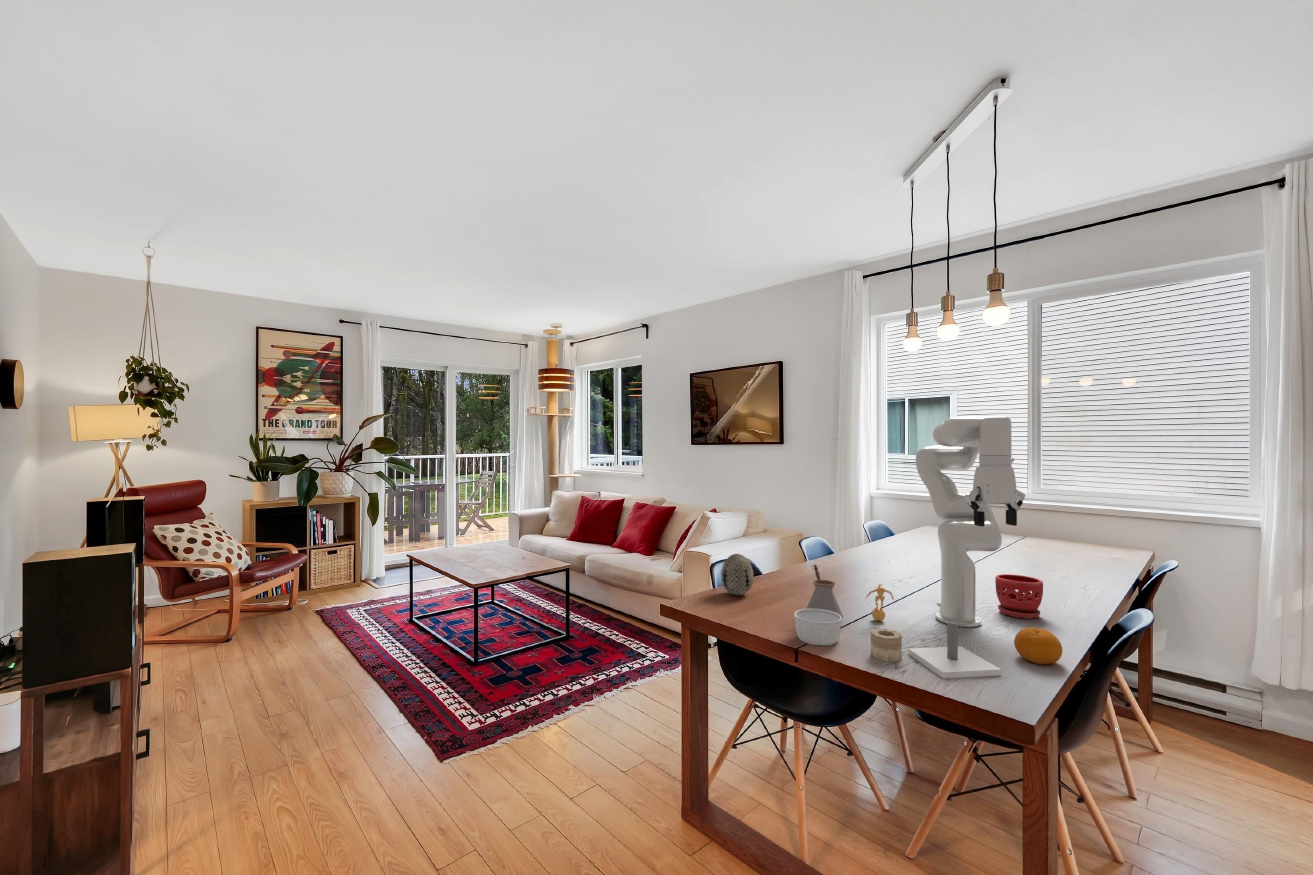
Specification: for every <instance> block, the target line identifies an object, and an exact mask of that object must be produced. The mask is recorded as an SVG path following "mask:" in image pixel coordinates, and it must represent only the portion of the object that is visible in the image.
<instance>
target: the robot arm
mask: <svg viewBox="0 0 1313 875" xmlns="http://www.w3.org/2000/svg"><path fill="white" fill-rule="evenodd" d="M932 436H933V440H934V441H935V442H936V443H937V444H938V445H931V446H925V447H921V448H920V449H919V450H918V451H917V452H916V455H915V466H916V470H917V473H918V476H919V478H920V480H921V481H922V482H923V484H924V486H925V487H926V489H927V490H928V494H929V496H930V501H931V503H932V506H933V509H934V512H935V515H936V517H937V518H938V519H939V520H940V521H941V522H942V523H940V524H939V526H938V527H937V537H938V542H939V549H940V565H941V566H940V567H941V568H940V571H941V572H940V574H941V576H940V580H941V581H940V602H936V606H937V607H939V611H938V612H936V613H935V619H936V620H937V621H938V622H941V623H944V624H947V622H955V623H958V627H962V628H973V627H974V628H975V627H979V626H981V625H982V620H981V618H980V617H979V616H976V565H975V562H974V561H973V560H972V559H971V557H970V556H969V555H968V552H984V553H985V552H986V553H987V552H989V553H990V552H996V551H997V550H999V549H1000V548H1001V547H1002V543H1003V537H1002V536H1003V535H1002V531H1001V529H1000V527H999V524H998V521H997V519H996V516H995V514H994V512H993V509H992V507H991V505H1004V506H1005V507H1006V508H1007V509H1005V525H1008V526H1014V527H1015V526H1018V525H1017V524H1018V523H1017V522H1018V511H1020V508H1021V506H1022V505H1023V502H1024V501H1025V498H1026V493H1024V492H1022V491H1020V490H1018V489H1017V482H1016V481H1017V480H1016V474H1015V470H1014V467H1012V465H1013V464H1012V463H1014V461H1015V459H1014V457H1012V420H1011V418H1010V417H1008V416H1002V415H999V416H998V415H996V416H995V415H994V416H993V415H991V416H990V415H989V416H957V417H956V416H955V417H950V418H947V419H945V420H944V421H943V422H941V423H939V424H937V426H936V427H935V428H933V432H932ZM977 457H978V466H976V468H975V470H974V475H973V484H972V490H971V491H969V492H967V493H961V492H959V491H958V488H957V486H956V483H955V482H954V481H953V479H952V478H951V477H949V476H948V475H947V474H945V473H944V472H942V471H946V472H947V471H959V472H960V471H967V470H970V469H972V467H973V465H974V463H975V462H976V460H977Z"/></svg>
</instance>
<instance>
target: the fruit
mask: <svg viewBox="0 0 1313 875" xmlns="http://www.w3.org/2000/svg"><path fill="white" fill-rule="evenodd" d="M1013 639H1014V640H1013V645H1014V648H1015V650H1016V652H1017V653H1018V654H1019V656H1021V657H1022V658H1023V659H1025V660H1026V661H1029V662H1031V663H1033V664H1037V665H1050V664H1054V663H1055V664H1056V663H1057V662H1058V661H1059V660H1060V659H1061V658H1062V656H1063V645H1062V643H1061V641H1060V639H1059V638H1058V637H1057V636H1056V635H1054V634H1053V633H1052V632H1051V631H1048V630H1047V629H1042V628H1039V627H1024V628H1022V629H1020V630H1019V631H1018V632H1017V633H1016V634H1015V636H1014V638H1013Z"/></svg>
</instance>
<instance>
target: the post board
mask: <svg viewBox="0 0 1313 875" xmlns="http://www.w3.org/2000/svg"><path fill="white" fill-rule="evenodd" d="M946 629H947V630H946V633H947V634H946V635H947V636H946V637H947V638H946V644H947V646H938V647H937V646H936V647H914V648H913V647H912V648H908V649H907V654H908V655H909V656H910V657H911V658H913V659H915V660H916V661H917V662H919V663H920V664H921V665H922V666H925V667H926V668H927V669H928V670H930V671H932V672H933V673H935V674H936V675H938V676H939V677H940V678H942V679H959V678H981V677H996V676H997V677H998V676H1002V669H1001V668H999V667H997V666H996V665H994V664H992V663H991V662H989V661H987V660H985V659H984V658H982V657H980V656H978V655H977V654H975V653H973V652H972V651H970V650H968V649H966V648H965V647H963V646H962V645H961V646H960V645H959V626H958V623H955V622H947V625H946Z"/></svg>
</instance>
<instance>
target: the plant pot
mask: <svg viewBox="0 0 1313 875" xmlns="http://www.w3.org/2000/svg"><path fill="white" fill-rule="evenodd" d="M994 582H995V593H996V597H997V599H998V602H999V604H998V605H997V609H998V610H999V611H1000V612H1001V613H1002V614H1004V615H1005V616H1006V615H1007V616H1009V617H1014V618H1019V619H1022V618H1023V620H1025V619H1034V618H1037V617H1039V616H1040V615H1041V610H1040V609H1039V607H1040V606H1041V605H1042V604H1041V603H1042V600H1043V595H1044V582H1043V580H1041V579H1039V578H1036V577H1033V576H1027V575H1021V574H1011V573H1009V574H1008V573H1007V574H1005V573H1004V574H1003V573H1002V574H996V576H995V581H994Z"/></svg>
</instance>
